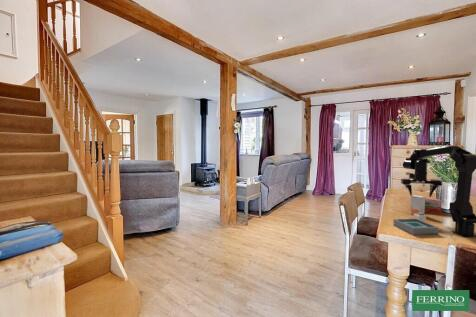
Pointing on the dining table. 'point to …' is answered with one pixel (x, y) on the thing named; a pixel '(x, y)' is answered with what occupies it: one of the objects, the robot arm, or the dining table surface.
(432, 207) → the medicine box
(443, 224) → the dining table surface
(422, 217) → the cube with square boss
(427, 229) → the box
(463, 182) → the robot arm
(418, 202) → the skincare box
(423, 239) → the dining table surface
